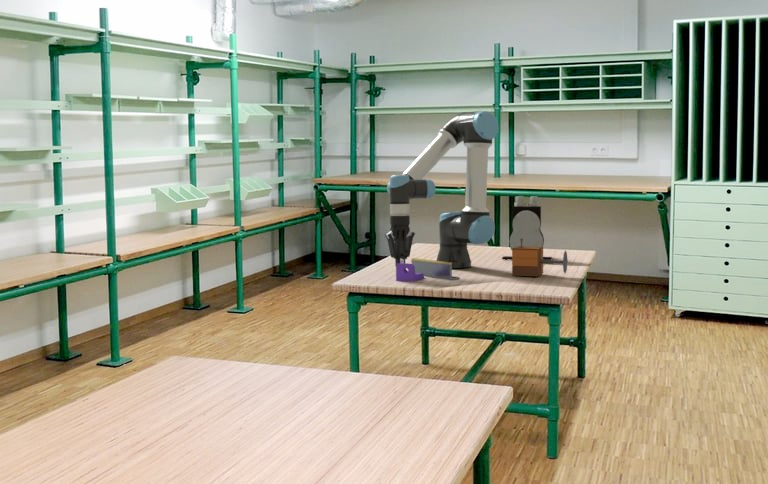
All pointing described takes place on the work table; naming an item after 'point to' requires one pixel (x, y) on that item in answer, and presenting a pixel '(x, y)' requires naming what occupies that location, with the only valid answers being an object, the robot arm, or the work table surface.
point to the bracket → (407, 272)
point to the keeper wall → (434, 268)
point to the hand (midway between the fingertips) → (400, 275)
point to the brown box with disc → (531, 260)
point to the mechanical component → (526, 224)
